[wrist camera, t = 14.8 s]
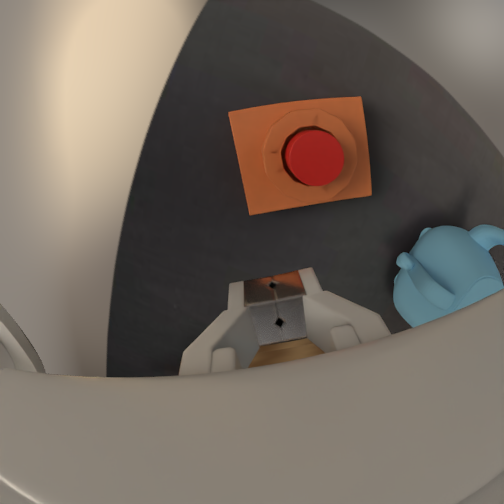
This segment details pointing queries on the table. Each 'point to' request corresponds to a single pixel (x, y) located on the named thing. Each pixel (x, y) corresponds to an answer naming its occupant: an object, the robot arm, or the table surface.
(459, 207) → the table surface
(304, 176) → the button
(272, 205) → the button box
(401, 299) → the teapot
